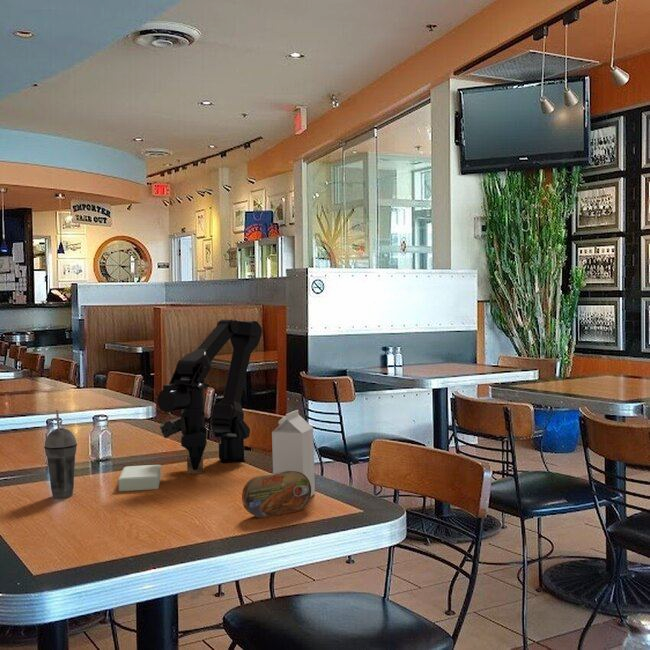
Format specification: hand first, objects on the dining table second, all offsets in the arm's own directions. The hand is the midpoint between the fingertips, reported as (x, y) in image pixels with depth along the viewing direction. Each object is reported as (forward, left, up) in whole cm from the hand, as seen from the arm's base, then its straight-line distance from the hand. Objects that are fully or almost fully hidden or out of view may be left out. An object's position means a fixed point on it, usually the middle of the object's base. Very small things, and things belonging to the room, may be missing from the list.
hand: (195, 467), depth 208 cm
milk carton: (-22, +33, -1) cm, 40 cm away
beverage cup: (+30, +18, -1) cm, 35 cm away
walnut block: (0, 0, -1) cm, 1 cm away
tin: (-17, +45, -1) cm, 48 cm away
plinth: (+13, +10, -1) cm, 16 cm away
